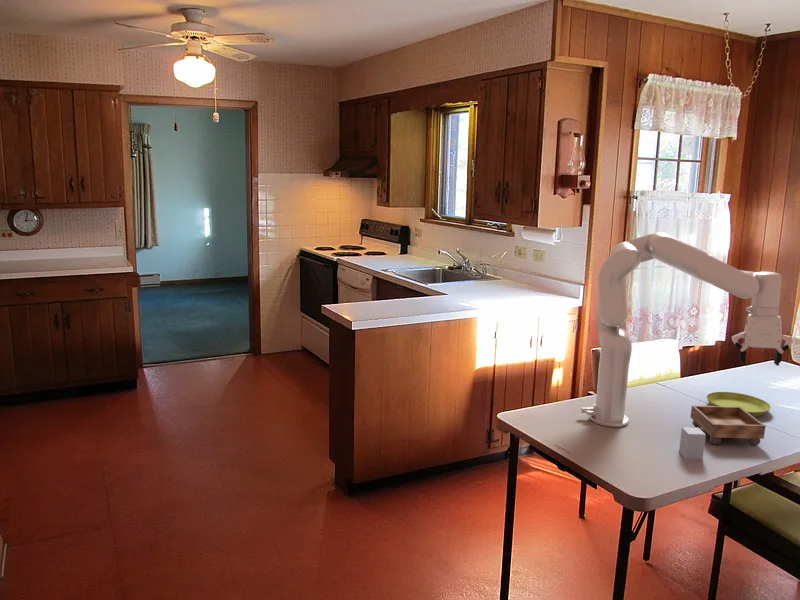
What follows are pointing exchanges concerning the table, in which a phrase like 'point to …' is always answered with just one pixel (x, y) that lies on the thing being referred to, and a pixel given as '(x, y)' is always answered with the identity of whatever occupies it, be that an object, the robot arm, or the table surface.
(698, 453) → the block
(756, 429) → the cart
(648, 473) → the table surface
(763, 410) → the saucer
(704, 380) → the table surface
